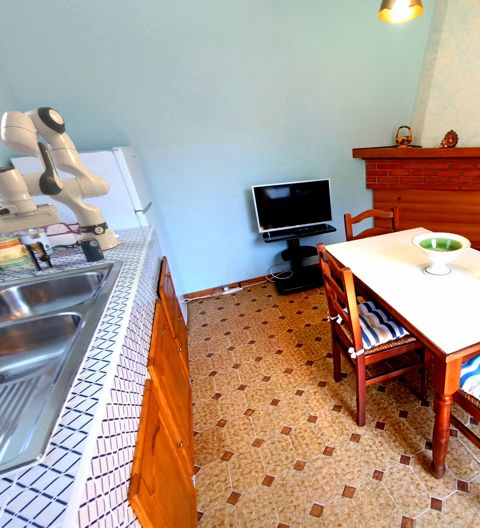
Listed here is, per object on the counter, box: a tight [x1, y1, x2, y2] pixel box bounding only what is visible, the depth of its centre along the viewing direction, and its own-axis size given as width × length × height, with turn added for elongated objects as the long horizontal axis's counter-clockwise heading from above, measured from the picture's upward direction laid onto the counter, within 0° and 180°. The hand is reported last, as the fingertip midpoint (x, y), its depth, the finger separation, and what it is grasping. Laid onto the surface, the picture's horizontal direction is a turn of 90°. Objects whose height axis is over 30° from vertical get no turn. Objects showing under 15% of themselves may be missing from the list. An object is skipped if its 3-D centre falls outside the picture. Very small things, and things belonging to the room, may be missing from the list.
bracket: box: [23, 241, 54, 272], centre depth 140 cm, size 12×9×14 cm
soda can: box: [80, 238, 106, 263], centre depth 148 cm, size 7×7×12 cm
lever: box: [28, 242, 51, 263], centre depth 136 cm, size 13×4×4 cm, turn 57°
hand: (36, 238), depth 132 cm, fingers closed
